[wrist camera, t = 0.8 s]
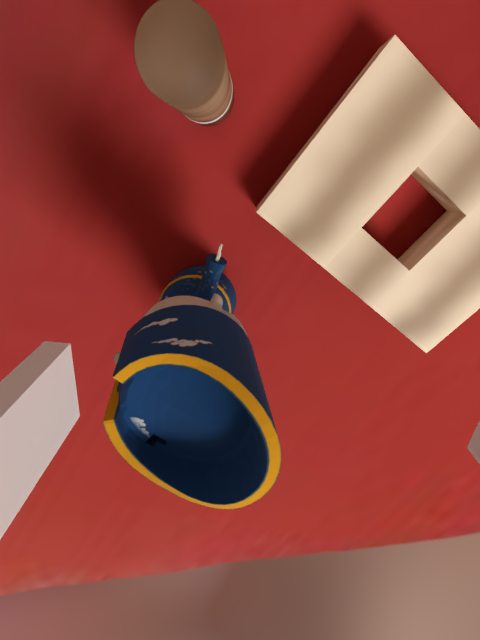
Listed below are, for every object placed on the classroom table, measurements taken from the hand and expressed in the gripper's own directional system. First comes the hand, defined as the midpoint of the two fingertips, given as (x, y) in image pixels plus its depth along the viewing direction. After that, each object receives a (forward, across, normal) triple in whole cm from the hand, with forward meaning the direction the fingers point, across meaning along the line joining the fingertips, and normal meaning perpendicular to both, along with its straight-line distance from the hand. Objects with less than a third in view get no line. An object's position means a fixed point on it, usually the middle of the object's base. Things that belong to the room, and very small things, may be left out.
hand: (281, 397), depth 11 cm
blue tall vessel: (+22, -4, -5) cm, 23 cm away
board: (+22, +12, +3) cm, 25 cm away
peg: (+22, -5, +11) cm, 25 cm away
